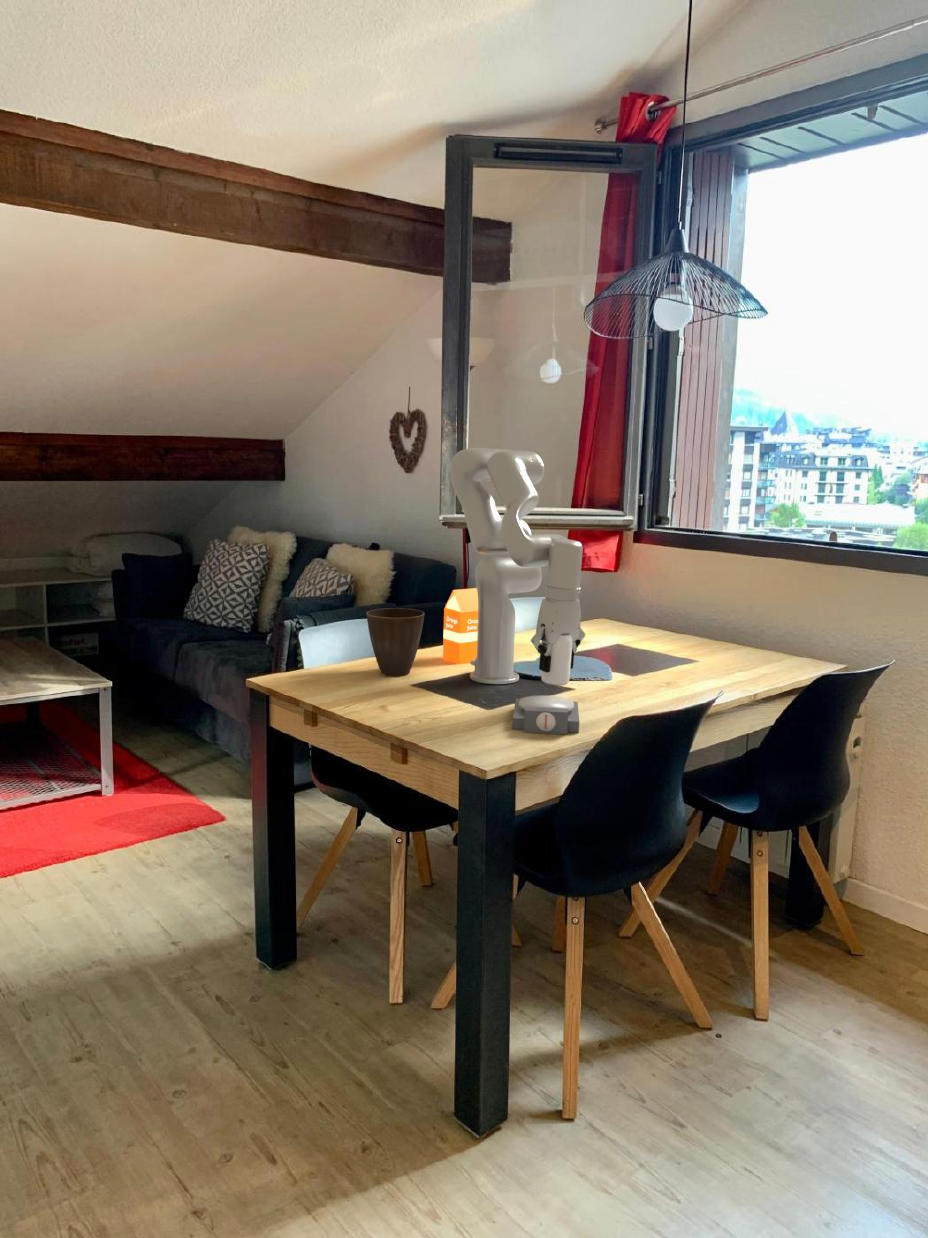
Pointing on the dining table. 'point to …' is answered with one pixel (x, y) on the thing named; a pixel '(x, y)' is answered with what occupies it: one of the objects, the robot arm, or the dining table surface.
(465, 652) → the orange juice
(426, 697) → the dining table surface
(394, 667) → the plant pot
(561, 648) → the can
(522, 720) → the scale
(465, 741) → the dining table surface
